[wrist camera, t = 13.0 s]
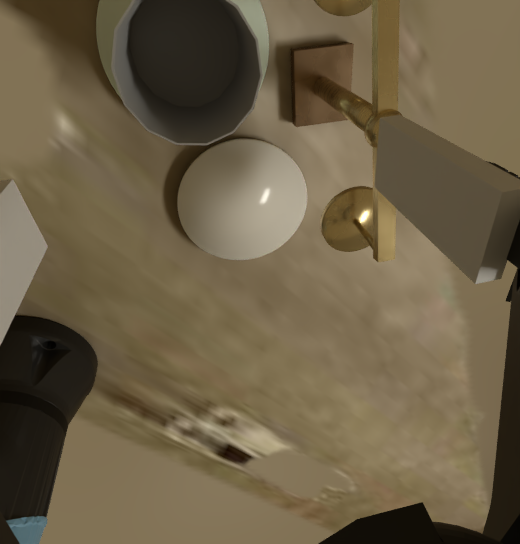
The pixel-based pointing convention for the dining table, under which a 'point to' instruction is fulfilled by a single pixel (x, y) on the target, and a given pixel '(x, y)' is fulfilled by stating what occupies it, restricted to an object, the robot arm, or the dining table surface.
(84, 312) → the dining table surface
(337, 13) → the balance
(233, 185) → the white dome
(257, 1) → the dish green
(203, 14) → the cup
